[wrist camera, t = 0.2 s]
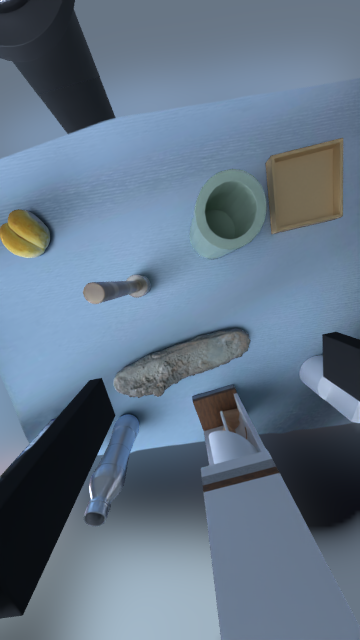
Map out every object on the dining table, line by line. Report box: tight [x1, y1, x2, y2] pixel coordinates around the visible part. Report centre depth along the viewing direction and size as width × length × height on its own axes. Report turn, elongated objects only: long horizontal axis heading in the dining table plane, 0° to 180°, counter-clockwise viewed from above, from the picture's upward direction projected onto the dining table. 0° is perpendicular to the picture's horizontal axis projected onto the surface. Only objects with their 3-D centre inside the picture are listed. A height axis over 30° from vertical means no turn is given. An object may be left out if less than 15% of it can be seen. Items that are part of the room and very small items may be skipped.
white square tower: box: [192, 385, 360, 640], centre depth 30 cm, size 11×11×35 cm
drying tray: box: [266, 138, 343, 234], centre depth 34 cm, size 13×13×2 cm
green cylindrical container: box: [190, 169, 267, 259], centre depth 30 cm, size 10×10×13 cm
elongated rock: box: [114, 329, 250, 398], centre depth 41 cm, size 35×5×10 cm
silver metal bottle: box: [84, 414, 139, 526], centre depth 38 cm, size 6×7×20 cm
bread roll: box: [0, 210, 50, 258], centre depth 34 cm, size 8×9×4 cm
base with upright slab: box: [299, 355, 360, 423], centre depth 38 cm, size 9×9×12 cm
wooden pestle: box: [83, 275, 151, 304], centre depth 28 cm, size 5×5×22 cm
